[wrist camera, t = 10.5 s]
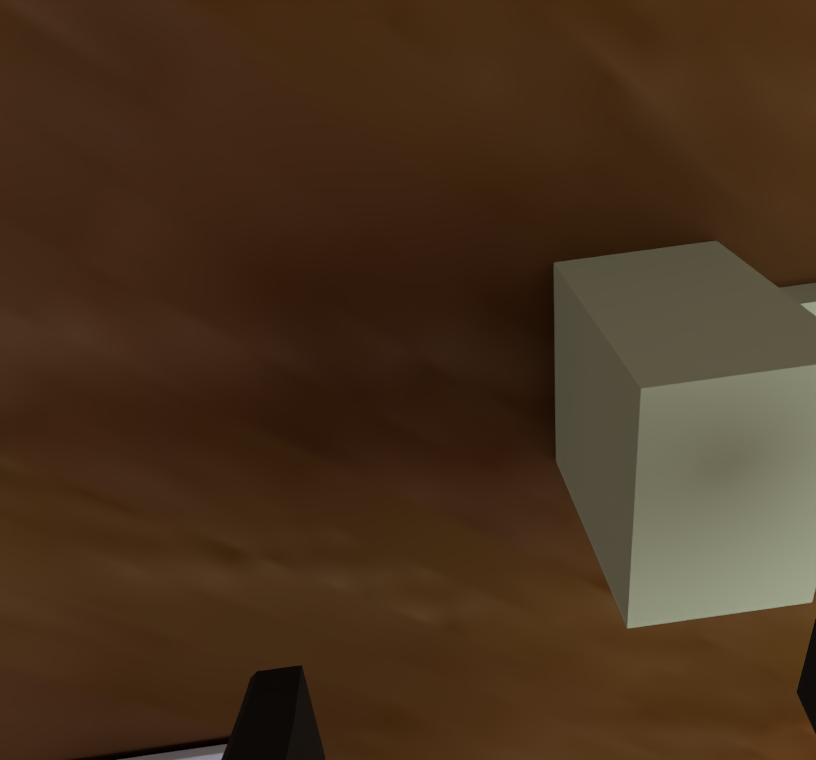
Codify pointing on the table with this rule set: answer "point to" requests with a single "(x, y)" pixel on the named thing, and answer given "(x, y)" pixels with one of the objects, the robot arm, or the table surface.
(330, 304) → the table surface
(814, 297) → the square dumbbell
